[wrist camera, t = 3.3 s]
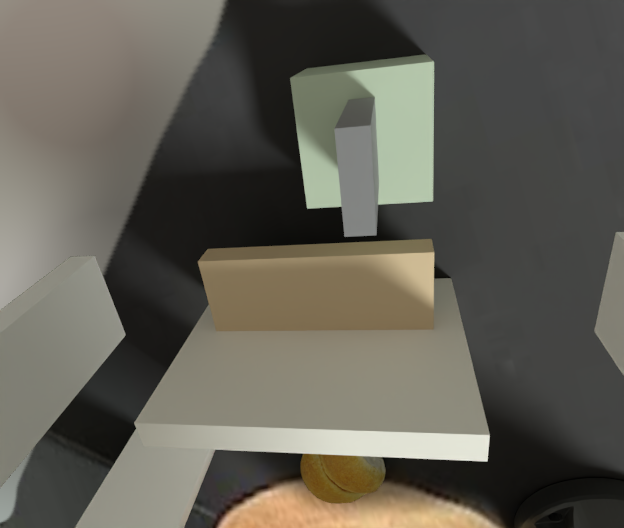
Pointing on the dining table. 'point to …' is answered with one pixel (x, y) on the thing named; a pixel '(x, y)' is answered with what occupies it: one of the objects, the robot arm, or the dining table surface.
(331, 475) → the bread roll
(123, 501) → the milk
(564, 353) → the dining table surface
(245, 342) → the wall board
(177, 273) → the dining table surface
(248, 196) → the dining table surface
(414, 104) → the green block with handle
